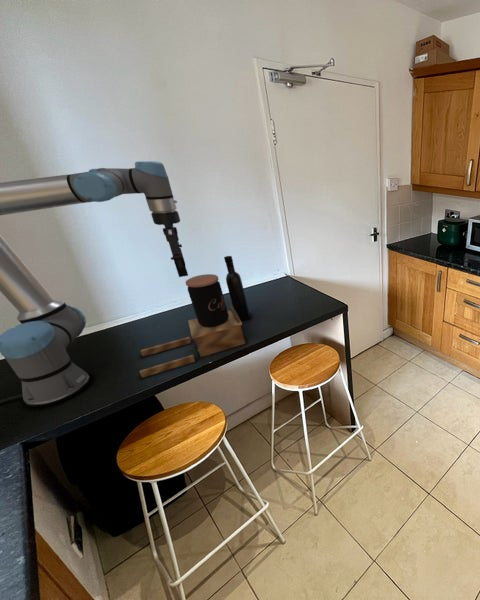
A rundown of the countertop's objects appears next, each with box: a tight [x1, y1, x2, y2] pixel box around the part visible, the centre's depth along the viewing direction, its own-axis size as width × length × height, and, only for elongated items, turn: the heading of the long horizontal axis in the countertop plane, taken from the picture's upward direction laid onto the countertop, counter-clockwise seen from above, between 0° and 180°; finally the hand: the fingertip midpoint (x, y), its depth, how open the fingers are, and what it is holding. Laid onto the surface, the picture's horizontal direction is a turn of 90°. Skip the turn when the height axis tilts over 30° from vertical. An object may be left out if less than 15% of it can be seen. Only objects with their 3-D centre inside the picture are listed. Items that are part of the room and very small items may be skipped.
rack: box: [139, 304, 246, 379], centre depth 121 cm, size 34×16×12 cm, turn 126°
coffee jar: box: [185, 273, 229, 327], centre depth 120 cm, size 11×11×18 cm
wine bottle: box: [223, 255, 251, 321], centre depth 140 cm, size 6×6×30 cm
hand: (182, 270), depth 115 cm, fingers open, 13 cm apart
